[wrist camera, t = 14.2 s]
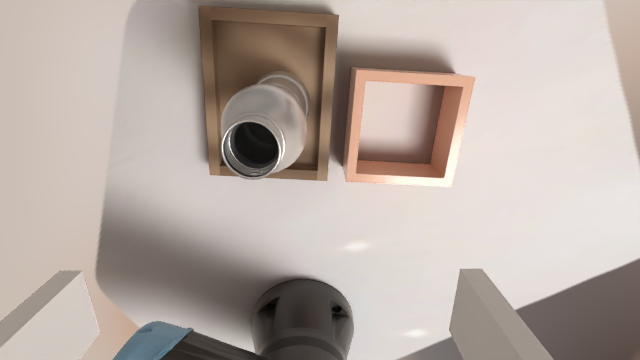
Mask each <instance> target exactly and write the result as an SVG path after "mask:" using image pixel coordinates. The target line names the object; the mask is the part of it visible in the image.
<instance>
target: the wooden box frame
mask: <svg viewBox="0 0 640 360" xmlns="http://www.w3.org/2000/svg"><path fill="white" fill-rule="evenodd" d="M365 81H377V82H393V83H410V84H427V85H443V86H445V88H444V93H443V98H442V104H441V109H440V114H439V119H438V125H437V130H436V135H435V140H434V146H433V151H432V156H431V162H430V164H420V163H401V162H382V161H363V160H357V157H358V148H359V138H360V129H361V119H362V109H363V100H364V90H365ZM474 81H475V77H472V76H467V75H461V74H455V73H439V72H423V71H406V70H390V69H374V68H357V67H352V68H351V79H350V91H349V102H348V113H347V125H346V136H345V147H344V159H343V170H344V175H345V179H346V182H362V183H382V184H402V185H421V186H441V187H451V185H452V181H453V176H454V172H455V167H456V163H457V158H458V154H459V149H460V145H461V140H462V135H463V131H464V126H465V122H466V117H467V113H468V108H469V104H470V99H471V95H472V90H473V85H474Z"/></svg>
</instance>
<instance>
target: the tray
mask: <svg viewBox="0 0 640 360" xmlns="http://www.w3.org/2000/svg"><path fill="white" fill-rule="evenodd" d="M198 7H199V22H200V37H201V51H202V66H203V81H204V96H205V111H206V125H207V140H208V155H209V170H210V175H220V176H238V175H236V174H235V173H233V172H232V171H231V170H230V169H229V168H228V167H227V165H226V164H225V162H224V160H223V157H222V154H221V141H222V136H221V118H222V114H223V111H224V109H225V106H226V104H227V103H228V101H229V100H230V99H231V97H232V96H234V95H235V94H236V93H237V92H238V91H240V90H242V89H244V88H245V87H249V86H252V85H255V84H256V82H257V81H258V80H259V79H260V78H261V77H262V76H264V75H265V74H267V73H270V72H273V71H286V72H289V73H292V74H294V75H295V76H297V77H298V78H299V79H300V80H301V81H302V82H303V83H304V84H305V86H306V88H307V90H308V92H309V95H310V102H311V107H310V112H309V116H308V118H307V120H306V123H307V139H306V143H305V146H304V149H303V151H302V153H301V154H300V156H299V157H298V158H297V160H296V161H295V162H294V163H292V164H291V165H290V166H289V167H287V168H285V169H283V170H281V171H279V172H275V173H271V174H269V175H268V176H266V177H264V178H280V179H300V180H320V181H327V175H328V161H329V147H330V133H331V119H332V105H333V91H334V77H335V62H336V48H337V34H338V20H339V15H332V14H317V13H302V12H287V11H272V10H257V9H241V8H226V7H211V6H198Z"/></svg>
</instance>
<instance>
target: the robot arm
mask: <svg viewBox="0 0 640 360" xmlns="http://www.w3.org/2000/svg"><path fill="white" fill-rule="evenodd" d="M193 330H194V329H192V328H188V329H186V328H182V327H179V326H176V325H172V324H169V323H165V322H161V321H155V322H151V323H148V324H146V325H145V326H143V327H142V328H140V329H139V330H138V331H137V332H136V333H135V334H134V335H133V336H132V337H131V338H130V339H129V340H128V341H127V343H126V344H125V345H124V346H123V347H122V349H121V350H120V351H119V352H118V353H117V355H116V356H115V357H114V359H113V360H347V356H348V352H349V348H350V345H351V341H352V337H353V331H354V324H353V316H352V311H351V307H350V305H349V303H348V301H347V300H346V299H345V297H344V296H343V295H342V294H341V293H340V292H339V291H337V290H336V289H334V288H333V287H331V286H329V285H327V284H324V283H321V282H318V281H313V280H292V281H288V282H284V283H281V284H279V285H277V286H275V287H273V288H271V289H270V290H268V291H267V292H266V293H265V294H264V295H263V296H262V297H261V298H260V300H259V301H258V303H257V305H256V307H255V311H254V315H253V320H252V337H253V343H254V348H255V353H253V352H250V351H247V350H244V349H241V348H238V347H235V346H232V345H230V344H227V343H224V342H221V341H219V340H216V339H213V338H210V337H208V336H205V335H202V334H200V333H197V332H194V331H193ZM449 331H450V333H451V335H452V337H453V339H454V341H455V343H456V345H457V347H458V349H459V351H460V353H461V355H462V357H463V359H464V360H553V358H552V357H551V356H550V355H549V353H548V352H547V351H546V350H545V348H544V347H543V346H542V345H541V343H540V342H539V341H538V339H537V338H536V337H535V336H534V334H533V333H532V332H531V330H530V329H529V328H528V327H527V326H526V324H525V323H524V322H523V320H522V319H521V318H520V317H519V315H518V314H517V313H516V311H515V310H514V309H513V308H512V306H511V305H510V304H509V303H508V301H507V300H506V299H505V297H504V296H503V295H502V294H501V292H500V291H499V290H498V289H497V287H496V286H495V285H494V284H493V282H492V281H491V280H490V278H489V277H488V276H487V275H486V273H485V272H484V271H483V270H482V269H460V274H459V279H458V284H457V290H456V295H455V300H454V306H453V311H452V317H451V322H450V327H449ZM99 334H100V330H99V326H98V323H97V319H96V316H95V312H94V309H93V306H92V302H91V299H90V295H89V292H88V288H87V285H86V281H85V278H84V274H83V271H59V272H58V273H57V274H56V275H54V276H53V277H52V278H51V279H50V280H49V281H47V282H46V283H45V284H44V285H43V286H42V287H40V288H39V289H38V290H37V291H36V292H35V293H33V294H32V295H31V296H30V297H29V298H28V299H26V300H25V301H24V302H23V303H22V304H21V305H20V306H18V307H17V308H16V309H15V310H14V311H12V312H11V313H10V314H9V315H8V316H7V317H6V318H4V319H3V320H2V321H1V322H0V360H80V359H81V358H82V356H83V355H84V354H85V352H86V351H87V350H88V348H89V347H90V346H91V344H92V343H93V342H94V341H95V339H96V338H97V337H98V335H99Z"/></svg>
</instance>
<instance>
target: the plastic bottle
mask: <svg viewBox="0 0 640 360" xmlns="http://www.w3.org/2000/svg"><path fill="white" fill-rule="evenodd" d="M310 107H311V102H310V95H309V92H308V90H307V88H306V86H305V84H304V83H303V82H302V81H301V80H300V79H299V78H298V77H297V76H295V75H294V74H292V73H289V72H286V71H273V72H270V73H267V74H265V75H264V76H262V77H261V78H260V79H259V80H258V81H257V82H256V84H255V85H252V86H249V87H245V88H244V89H242V90H240V91H238V92H237V93H236V94H235V95H234V96H232V97H231V99H230V100H229V101H228V103H227V104H226V106H225V109H224V111H223V114H222V118H221V136H222V141H221V154H222V157H223V160H224V162H225V164H226V165H227V167H228V168H229V169H230V170H231V171H232V172H233V173H235V174H236V175H238V176H240V177H242V178H245V179H251V180H254V179H261V178H264V177H266V176H268V175H269V174H271V173H275V172H279V171H281V170H283V169H285V168H287V167H289V166H290V165H291V164H292V163H294V162H295V161H296V160H297V158H298V157H299V156H300V154H301V153H302V151H303V149H304V146H305V143H306V139H307V123H306V120H307V118H308V116H309V112H310Z"/></svg>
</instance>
